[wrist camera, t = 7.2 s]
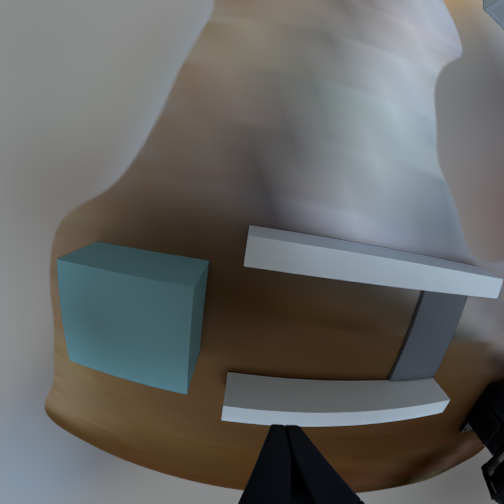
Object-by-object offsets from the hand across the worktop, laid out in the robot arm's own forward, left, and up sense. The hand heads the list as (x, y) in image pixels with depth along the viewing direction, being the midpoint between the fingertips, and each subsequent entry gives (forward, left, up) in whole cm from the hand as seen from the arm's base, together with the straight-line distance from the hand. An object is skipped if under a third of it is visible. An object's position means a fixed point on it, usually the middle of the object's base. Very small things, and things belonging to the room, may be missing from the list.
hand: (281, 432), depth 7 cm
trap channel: (-6, 0, -8) cm, 10 cm away
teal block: (+7, 0, -8) cm, 10 cm away
